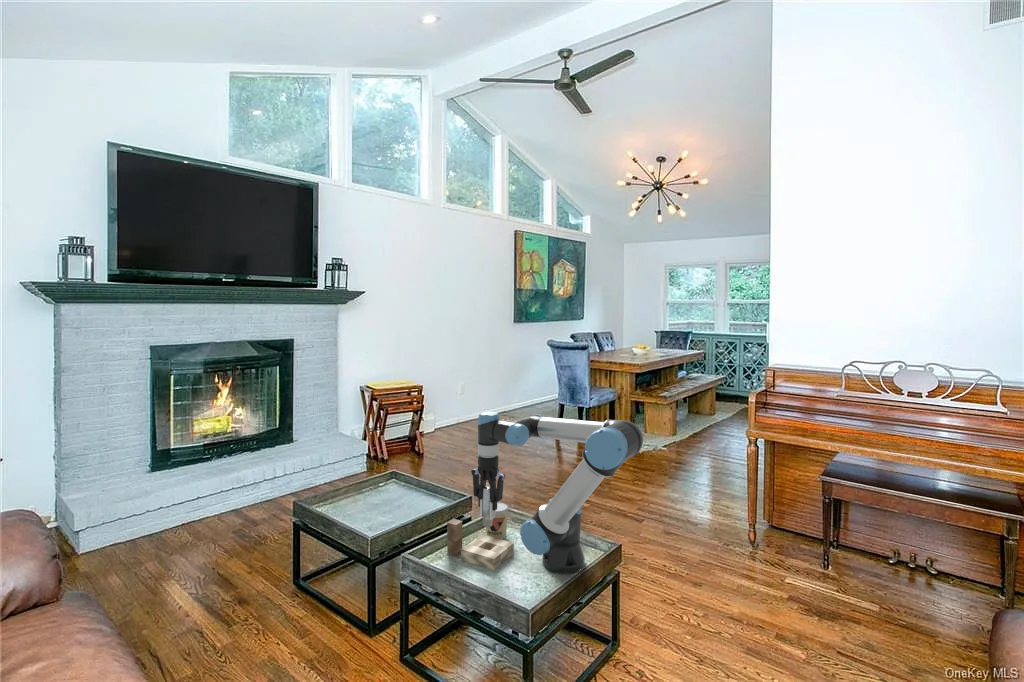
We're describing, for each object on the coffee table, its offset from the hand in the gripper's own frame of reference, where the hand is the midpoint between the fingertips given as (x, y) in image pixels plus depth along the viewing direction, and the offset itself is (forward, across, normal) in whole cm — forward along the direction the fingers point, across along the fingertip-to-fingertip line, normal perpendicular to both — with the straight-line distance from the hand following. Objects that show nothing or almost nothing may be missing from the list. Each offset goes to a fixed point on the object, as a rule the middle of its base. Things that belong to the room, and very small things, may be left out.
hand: (487, 516), depth 192 cm
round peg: (+3, 0, 0) cm, 3 cm away
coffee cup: (+15, +6, -16) cm, 23 cm away
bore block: (+15, 0, 0) cm, 15 cm away
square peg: (+15, +12, +4) cm, 20 cm away
